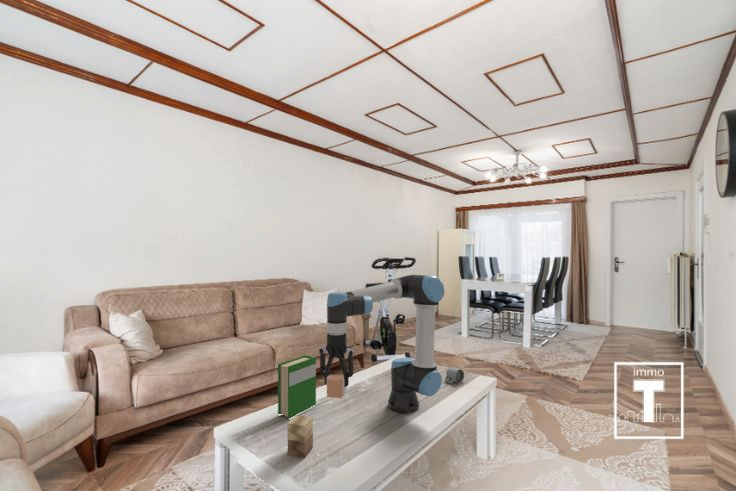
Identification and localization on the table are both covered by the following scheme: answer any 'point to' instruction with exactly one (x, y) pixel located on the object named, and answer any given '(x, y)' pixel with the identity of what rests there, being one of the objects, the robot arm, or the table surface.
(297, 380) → the hardback book
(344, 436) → the table surface
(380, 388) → the table surface
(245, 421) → the table surface
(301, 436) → the oak middle block
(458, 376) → the ceramic mug
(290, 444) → the walnut base block
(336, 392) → the terracotta block
